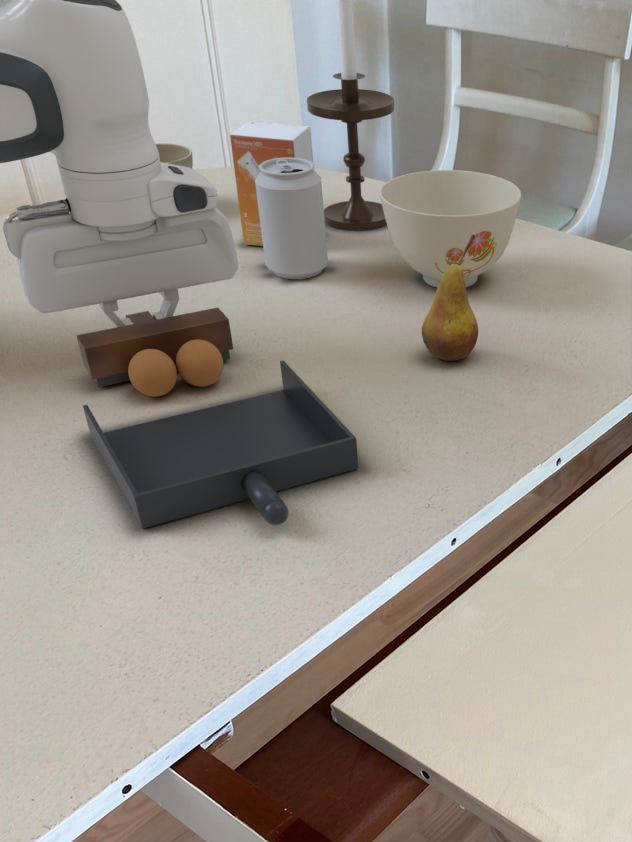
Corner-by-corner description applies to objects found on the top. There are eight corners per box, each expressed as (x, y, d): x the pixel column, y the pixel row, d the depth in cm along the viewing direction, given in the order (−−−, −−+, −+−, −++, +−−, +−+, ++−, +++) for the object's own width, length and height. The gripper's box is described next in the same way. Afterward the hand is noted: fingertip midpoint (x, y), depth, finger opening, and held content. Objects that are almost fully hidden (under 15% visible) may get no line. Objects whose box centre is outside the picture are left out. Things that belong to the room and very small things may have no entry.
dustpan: (91, 437, 87) (82, 405, 85) (287, 390, 95) (283, 360, 93) (165, 571, 73) (157, 537, 71) (389, 504, 81) (387, 471, 78)
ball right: (170, 374, 96) (188, 399, 94) (167, 334, 92) (185, 360, 90) (213, 365, 98) (231, 390, 96) (211, 326, 94) (230, 351, 92)
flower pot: (206, 197, 136) (197, 142, 131) (195, 222, 129) (185, 164, 124) (133, 197, 136) (122, 141, 131) (118, 222, 128) (105, 164, 123)
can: (284, 286, 114) (271, 177, 106) (255, 266, 118) (241, 160, 110) (340, 273, 117) (332, 166, 109) (310, 253, 121) (300, 150, 113)
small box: (243, 246, 123) (227, 133, 114) (261, 228, 127) (247, 119, 119) (304, 252, 122) (293, 139, 113) (320, 234, 126) (311, 124, 118)
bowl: (380, 306, 110) (376, 214, 103) (385, 253, 122) (382, 168, 115) (521, 307, 111) (525, 216, 104) (512, 255, 123) (516, 170, 116)
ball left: (125, 385, 94) (140, 409, 92) (118, 344, 91) (134, 369, 89) (169, 376, 96) (186, 400, 94) (164, 336, 93) (181, 359, 91)
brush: (95, 389, 93) (84, 348, 90) (74, 354, 99) (63, 314, 96) (235, 358, 99) (228, 318, 96) (208, 327, 104) (201, 288, 101)
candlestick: (372, 200, 137) (357, -114, 113) (412, 223, 130) (405, -104, 107) (303, 213, 132) (271, -111, 109) (341, 238, 125) (316, -101, 102)
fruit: (426, 343, 103) (424, 227, 95) (480, 347, 103) (483, 230, 95) (418, 367, 99) (415, 247, 91) (474, 371, 99) (476, 251, 91)
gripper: (3, 220, 83) (48, 370, 93) (232, 186, 91) (252, 327, 101) (-10, 199, 87) (34, 344, 97) (210, 168, 95) (231, 305, 105)
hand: (147, 335), depth 99 cm, fingers closed on brush, 2 cm apart
